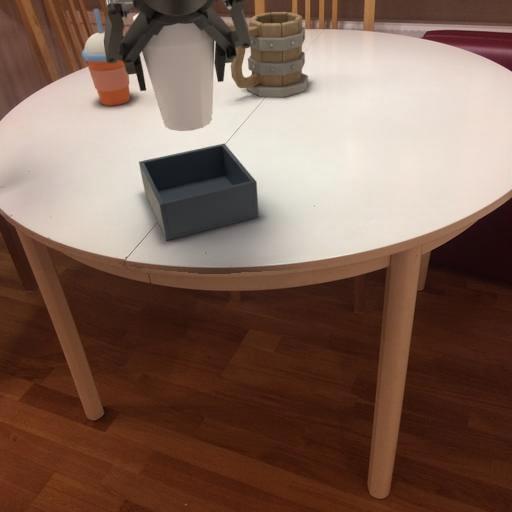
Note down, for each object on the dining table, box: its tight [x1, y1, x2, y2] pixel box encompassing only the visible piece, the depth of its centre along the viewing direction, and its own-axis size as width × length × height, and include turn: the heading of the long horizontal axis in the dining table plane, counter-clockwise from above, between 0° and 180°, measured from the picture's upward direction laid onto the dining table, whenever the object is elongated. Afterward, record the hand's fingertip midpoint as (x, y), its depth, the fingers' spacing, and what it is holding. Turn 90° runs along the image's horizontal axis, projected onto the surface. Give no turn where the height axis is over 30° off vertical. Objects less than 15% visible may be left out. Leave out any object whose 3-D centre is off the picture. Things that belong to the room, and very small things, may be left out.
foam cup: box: [132, 12, 215, 132], centre depth 65 cm, size 10×9×13 cm
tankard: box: [225, 11, 309, 98], centre depth 108 cm, size 20×13×15 cm, turn 123°
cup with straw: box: [81, 8, 131, 106], centre depth 106 cm, size 9×9×18 cm
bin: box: [138, 143, 259, 241], centre depth 74 cm, size 13×13×6 cm
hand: (180, 76), depth 68 cm, fingers closed on foam cup, 9 cm apart
